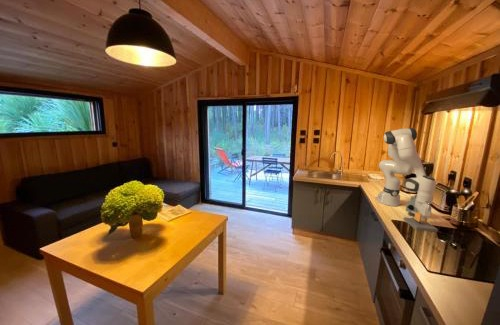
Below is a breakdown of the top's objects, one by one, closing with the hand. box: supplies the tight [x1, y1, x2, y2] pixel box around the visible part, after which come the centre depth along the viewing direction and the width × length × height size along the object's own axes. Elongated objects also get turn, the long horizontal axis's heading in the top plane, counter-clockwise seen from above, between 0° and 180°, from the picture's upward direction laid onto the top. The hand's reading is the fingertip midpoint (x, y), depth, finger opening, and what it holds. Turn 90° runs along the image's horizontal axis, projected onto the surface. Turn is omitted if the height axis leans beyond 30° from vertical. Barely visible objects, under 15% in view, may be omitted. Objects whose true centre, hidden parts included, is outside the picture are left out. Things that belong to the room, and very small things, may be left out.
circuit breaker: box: [405, 195, 418, 218], centre depth 169 cm, size 8×14×15 cm, turn 117°
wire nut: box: [413, 212, 429, 223], centre depth 153 cm, size 5×5×6 cm
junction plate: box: [402, 217, 439, 233], centre depth 153 cm, size 16×13×7 cm
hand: (420, 218), depth 153 cm, fingers closed on wire nut, 6 cm apart
